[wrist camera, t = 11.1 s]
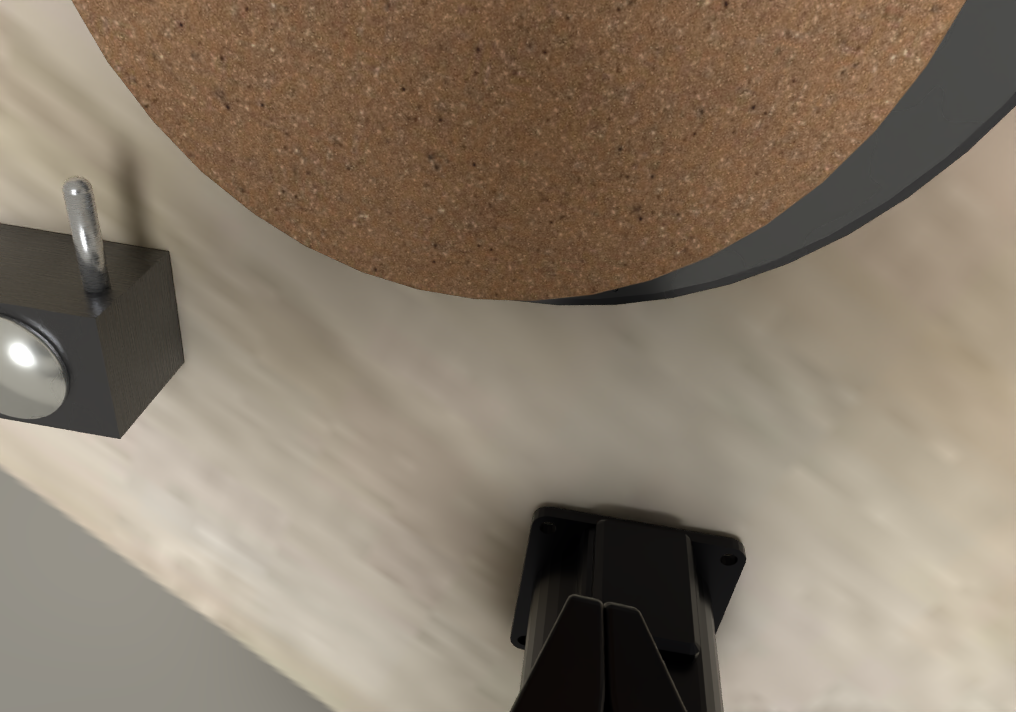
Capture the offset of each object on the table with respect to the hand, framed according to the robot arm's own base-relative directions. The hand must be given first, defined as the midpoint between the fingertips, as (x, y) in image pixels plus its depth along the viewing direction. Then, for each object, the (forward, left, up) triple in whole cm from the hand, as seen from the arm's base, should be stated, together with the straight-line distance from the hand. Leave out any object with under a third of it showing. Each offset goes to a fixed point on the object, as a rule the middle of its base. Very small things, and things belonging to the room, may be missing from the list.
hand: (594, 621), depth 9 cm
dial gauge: (-3, +14, -11) cm, 18 cm away
